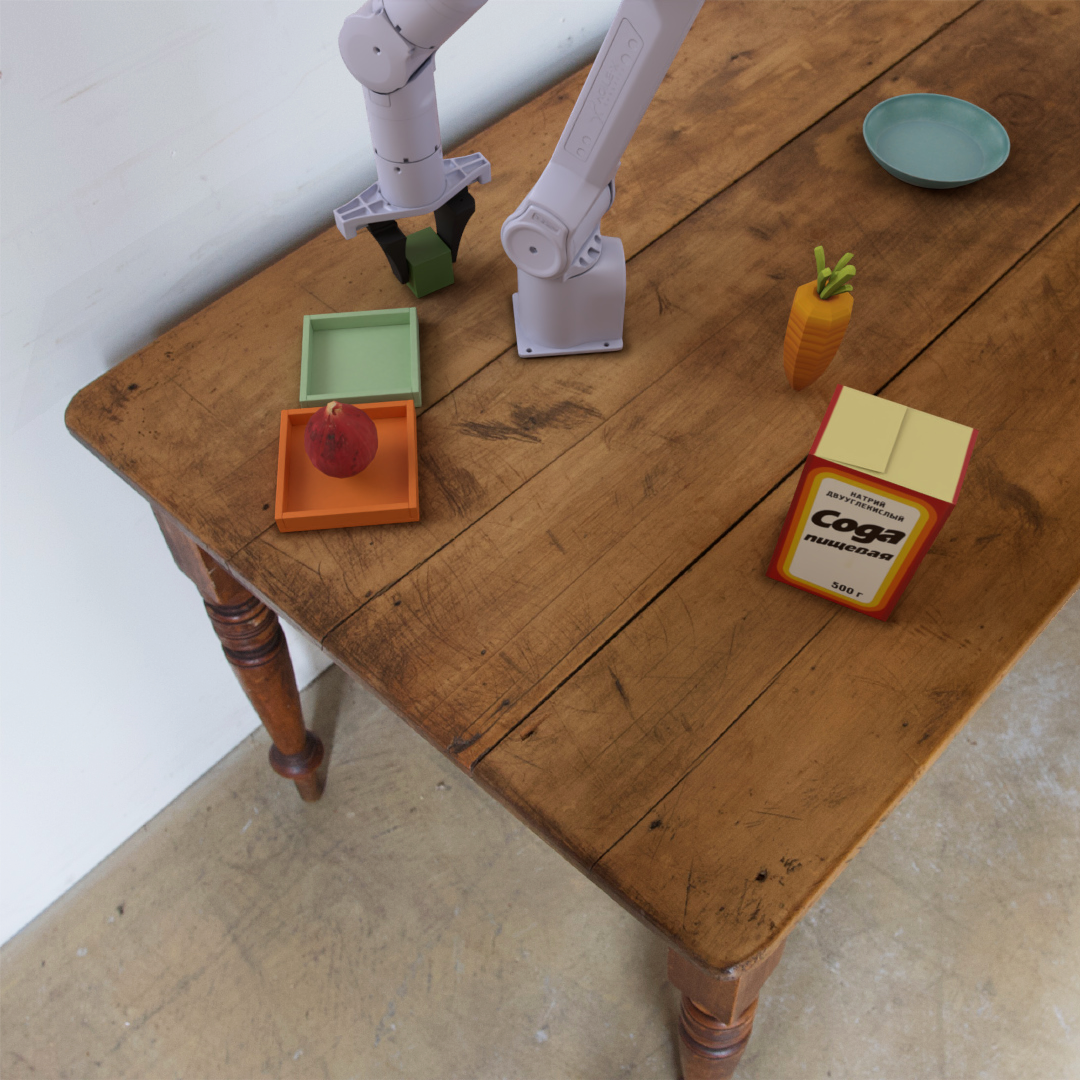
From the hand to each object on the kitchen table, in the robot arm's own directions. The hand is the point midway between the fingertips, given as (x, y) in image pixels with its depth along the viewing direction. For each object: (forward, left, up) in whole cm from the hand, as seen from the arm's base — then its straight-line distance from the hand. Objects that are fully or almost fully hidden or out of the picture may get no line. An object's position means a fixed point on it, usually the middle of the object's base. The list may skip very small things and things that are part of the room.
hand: (424, 267), depth 94 cm
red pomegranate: (+7, +22, -1) cm, 24 cm away
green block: (0, 0, -1) cm, 1 cm away
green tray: (+6, +11, -1) cm, 12 cm away
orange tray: (+7, +22, -1) cm, 23 cm away
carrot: (-32, +17, -2) cm, 36 cm away
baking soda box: (-31, +35, -2) cm, 47 cm away
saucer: (-53, -13, -2) cm, 55 cm away
